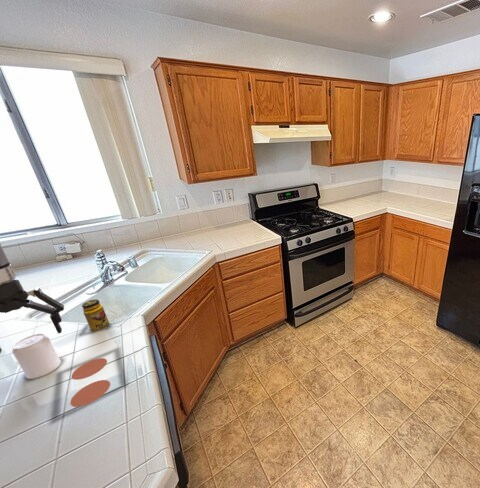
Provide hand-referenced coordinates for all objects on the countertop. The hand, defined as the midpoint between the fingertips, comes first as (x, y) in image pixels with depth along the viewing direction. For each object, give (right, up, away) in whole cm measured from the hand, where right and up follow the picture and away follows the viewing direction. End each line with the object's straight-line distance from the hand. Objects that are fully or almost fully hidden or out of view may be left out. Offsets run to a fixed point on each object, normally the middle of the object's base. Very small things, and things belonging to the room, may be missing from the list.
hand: (31, 341), depth 83 cm
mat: (+21, -12, -2) cm, 24 cm away
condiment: (0, -4, +25) cm, 25 cm away
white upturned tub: (0, -11, +4) cm, 12 cm away
